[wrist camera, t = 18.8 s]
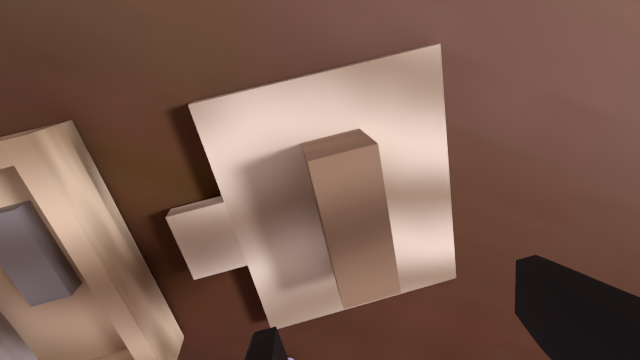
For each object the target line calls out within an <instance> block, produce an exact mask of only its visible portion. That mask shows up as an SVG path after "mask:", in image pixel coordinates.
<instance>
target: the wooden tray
mask: <svg viewBox="0 0 640 360" xmlns="http://www.w3.org/2000/svg"><path fill="white" fill-rule="evenodd" d="M183 339H184V336H183V334H182V332H181V330H180V328H179V326H178V324H177V322H176V320H175V318H174V316H173V314H172V312H171V311H170V309H169V307H168V305H167V303H166V301H165V299H164V297H163V295H162V293H161V291H160V289H159V287H158V286H157V284H156V282H155V280H154V278H153V276H152V274H151V272H150V270H149V268H148V266H147V264H146V262H145V260H144V259H143V257H142V255H141V253H140V251H139V249H138V247H137V245H136V243H135V241H134V239H133V237H132V235H131V234H130V232H129V230H128V228H127V226H126V224H125V222H124V220H123V218H122V216H121V214H120V212H119V210H118V208H117V207H116V205H115V203H114V201H113V199H112V197H111V195H110V193H109V191H108V189H107V187H106V185H105V183H104V181H103V180H102V178H101V176H100V174H99V172H98V170H97V168H96V166H95V164H94V162H93V160H92V158H91V156H90V155H89V153H88V151H87V149H86V147H85V145H84V143H83V141H82V139H81V137H80V135H79V133H78V131H77V129H76V128H75V126H74V124H73V122H72V120H70V121H66V122H62V123H57V124H53V125H49V126H45V127H41V128H36V129H32V130H28V131H24V132H20V133H15V134H11V135H7V136H3V137H0V360H177V358H178V355H179V352H180V349H181V346H182V342H183Z"/></svg>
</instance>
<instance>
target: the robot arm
mask: <svg viewBox="0 0 640 360" xmlns="http://www.w3.org/2000/svg"><path fill="white" fill-rule="evenodd" d="M515 314H516V315H517V316H518V318H519V319H520V321H521V322H522V323H523V325H524V326H525V328H526V329H527V330H528V332H529V333H530V334H531V336H532V337H533V338H534V340H535V341H536V342H537V344H538V345H539V346H540V347H541V349H542V350H543V351H544V352H545V353H546V354H547V355H548V356H549V357H550V359H551V360H640V297H637V296H635V295H632V294H630V293H627V292H625V291H622V290H620V289H618V288H615V287H613V286H610V285H608V284H605V283H603V282H601V281H598V280H596V279H593V278H591V277H589V276H586V275H584V274H582V273H579V272H577V271H574V270H572V269H570V268H567V267H565V266H562V265H560V264H558V263H555V262H553V261H550V260H548V259H545V258H542V257H540V256H537V255H534V256H530V257H526V258H523V259H519V260H516V286H515ZM244 360H294V359H292V358H289V357H288V358H287V355H286V352H285V350H284V347H283V344H282V341H281V339H280V336H279V333H278V330H277V328H276V327H272V328H268V329H265V330H261V331H257V332H255V333H254V334H253V336H252V339H251V342H250V345H249V348H248V351H247V354H246V356H245V359H244Z"/></svg>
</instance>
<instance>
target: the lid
mask: <svg viewBox="0 0 640 360" xmlns="http://www.w3.org/2000/svg"><path fill="white" fill-rule="evenodd" d="M188 107H189V109H190V112H191V115H192V117H193V120H194V123H195V125H196V128H197V131H198V133H199V136H200V139H201V141H202V144H203V147H204V150H205V152H206V155H207V158H208V160H209V163H210V166H211V168H212V171H213V174H214V176H215V179H216V182H217V184H218V187H219V190H220V193H221V195H222V196H219V197H215V198H211V199H207V200H203V201H199V202H195V203H192V204H188V205H184V206H180V207H176V208H172V209H171V210H170V211H169V213H168V214H167V216H166V217H165V218H166V220H167V222H168V224H169V226H170V229H171V231H172V233H173V235H174V237H175V239H176V242H177V244H178V246H179V248H180V250H181V252H182V255H183V257H184V259H185V261H186V263H187V266H188V268H189V270H190V272H191V274H192V276H193V279H194V280H196V279H199V278H203V277H207V276H210V275H214V274H218V273H221V272H225V271H229V270H232V269H236V268H240V267H243V266H247V265H248V268H249V270H250V273H251V276H252V279H253V281H254V284H255V287H256V289H257V292H258V295H259V297H260V300H261V303H262V305H263V308H264V311H265V314H266V316H267V319H268V322H269V324H270V327H271V328H272V327H276V328H277V329H279V328H283V327H286V326H290V325H293V324H297V323H300V322H304V321H307V320H311V319H314V318H318V317H321V316H325V315H328V314H332V313H335V312H339V311H342V310H346V309H349V308H353V307H356V306H360V305H363V304H367V303H370V302H374V301H377V300H381V299H384V298H388V297H391V296H395V295H398V294H402V293H405V292H409V291H412V290H416V289H419V288H423V287H426V286H430V285H433V284H437V283H440V282H444V281H447V280H451V279H454V278H456V267H455V253H454V238H453V223H452V208H451V194H450V179H449V164H448V149H447V135H446V120H445V105H444V90H443V76H442V61H441V46H440V44H431V45H427V46H422V47H418V48H414V49H410V50H406V51H402V52H398V53H393V54H389V55H385V56H381V57H377V58H373V59H369V60H364V61H360V62H356V63H352V64H348V65H344V66H339V67H335V68H331V69H327V70H323V71H319V72H315V73H310V74H306V75H302V76H298V77H294V78H290V79H286V80H281V81H277V82H273V83H269V84H265V85H261V86H257V87H252V88H248V89H244V90H240V91H236V92H232V93H228V94H223V95H219V96H215V97H211V98H207V99H203V100H199V101H194V102H192V103H190V104H188Z"/></svg>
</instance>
